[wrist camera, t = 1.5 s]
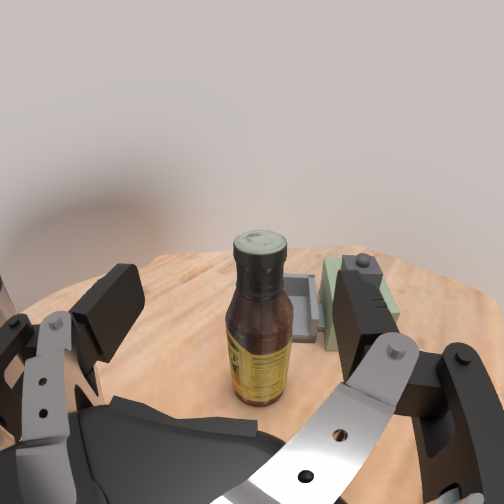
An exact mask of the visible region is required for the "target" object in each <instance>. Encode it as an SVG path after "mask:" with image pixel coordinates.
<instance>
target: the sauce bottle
mask: <svg viewBox="0 0 504 504" xmlns="http://www.w3.org/2000/svg"><path fill="white" fill-rule="evenodd" d="M233 246H234V251H233V256H234V259H235V261H236V267H237V282H236V290H235V293H234V295H233V298H232V301H231V303H230V306H229V308H228V311H227V313H226V318H225V322H226V331H227V340H228V350H229V358H230V366H231V374H232V382H233V386H234V389H235V390H236V392H237V395H238V396H239V398H241V399H242V400H243V401H245V402H247V403H250V404H252V405H266V404H270V403H271V402H274V401H276V400H277V399H278V398H279V397H280V395H281V394H282V392H283V389H284V387H285V384H286V378H287V372H288V365H289V358H290V350H291V343H292V335H293V333H292V330H293V328H292V325H293V318H294V313H293V305H292V303H291V300H290V299H289V297H288V295H287V294H286V292H285V291H284V290H283V286H284V281H283V266H284V262H285V261H286V257H287V242H286V239H285V237H284V236H282V235H281V234H278V233H276V232H274V231H269V230H253V231H248V232H245V233H243V234H241V235H239V236H237V237H236V238H235V240H234V243H233Z"/></svg>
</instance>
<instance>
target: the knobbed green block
mask: <svg viewBox="0 0 504 504" xmlns="http://www.w3.org/2000/svg"><path fill="white" fill-rule="evenodd" d="M338 270H358V271H359V273H360V275H361V277H362V279H363V281H364V283H372V284H373V285H374V286H375V287H376V288H378V289H379V290H380V292H381V294H382V296H383V298H384V301H385V302H386V304H387V306H388V308H389V310H390V312H391V315H392V317H393V319H394V321H395V323H396V322H397V320H398V317H399V314H400V312H399V309H398V307H397V305H396V303H395V300H394V298H393V296H392V294H391V292H390V290H389V287H388V285H387V283H386V281H385V279H384V277H383V273H382V271H381V269H380V267H379V265H378V263H377V261H376V259H375V257H374V256H369V255H367V254H364V253H360V254H358V255H357V256H353V255H343V256H342V258H324V263H323V270H322V278H321V285H320V292H319V293H320V301H321V303H320V302H317V293H316V285H315V276H314V275H302V274H283V281H284V286H283V290H284V291H285V292H286V294H287V295H288V297H289V299H290V300H291V303H292V305H293V313H294V318H293V325H292V328H293V330H292V333H293V335H292V342H303V343H315V339H316V334H317V331H324V337H325V347H326V351H339V350H338V345H337V340H336V335H335V330H334V325H333V319H332V304H333V298H334V291H335V284H336V277H337V272H338Z"/></svg>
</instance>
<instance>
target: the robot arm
mask: <svg viewBox="0 0 504 504" xmlns="http://www.w3.org/2000/svg"><path fill="white" fill-rule="evenodd" d="M144 304H145V296H144V292H143V289H142V285H141V281H140V277H139V273H138V269H137V267H136V265H134V264H117V265H116V266H115V267H114V268H113V269H112V270H111V271H110V272H109V273H108V274H107V275H106V276H104V277H102V278H101V279H99V280H98V281H97V282H96V283H95V284H94V285H93V286H92V288H90V289H89V290H88V291H87V292H86V294H84V295H83V296H82V297H81V298H80V299H79V301H78V302H77V303H76V304H75V305H74V306H73V307H72V308H71V309H70V310H69V311H68V312H67V311H57V312H54V313H52V314H50V315H48V316H47V317H46V318H44V320H43V321H42V322H41V324H38V325H32V324H31V322H30V320H29V318H28V316H27V315H26V314H18V313H17V311H16V309H15V307H14V305H13V303H12V301H11V299H10V297H9V295H8V293H7V290H6V288H5V286H4V283H3V281H2V279H1V276H0V504H348V503H347V502H346V501H345V500H343V499H342V498H341V497H340V496H339V495H340V494H341V493H342V492H343V490H344V489H345V488H346V486H347V485H348V484H349V483H350V481H351V480H352V479H353V477H354V476H355V474H356V473H357V472H358V470H359V469H360V467H361V466H362V465H363V463H364V462H365V460H366V459H367V457H368V456H369V454H370V453H371V451H372V449H373V448H374V446H375V445H376V443H377V441H378V440H379V438H380V437H381V435H382V433H383V431H384V430H385V428H386V426H387V424H388V423H389V421H390V419H391V417H392V415H393V414H395V415H402V416H410V417H411V418H412V423H413V428H414V434H415V439H416V445H417V451H418V457H419V464H420V472H421V480H422V490H423V502H424V504H504V410H503V407H502V405H501V402H500V400H499V397H498V395H497V393H496V390H495V388H494V386H493V384H492V381H491V379H490V377H489V375H488V373H487V371H486V369H485V367H484V364H483V362H482V360H481V358H480V357H479V355H478V353H477V352H476V351H475V350H474V349H473V348H472V347H470V346H469V345H467V344H464V343H459V342H456V343H451V344H449V345H448V346H447V347H446V348H445V350H444V352H443V353H442V354H435V353H428V352H423V351H419V348H418V346H417V344H416V343H415V342H414V340H412V339H411V338H410V337H408V336H406V335H404V334H401V333H400V332H399V330H398V328H397V325H396V323H395V321H394V319H393V317H392V315H391V312H390V310H389V308H388V306H387V304H386V302H385V301H384V298H383V296H382V294H381V292H380V290H379V289H378V288H376V287H375V286H374V285H373V284H372V283H364V281H363V279H362V277H361V275H360V273H359V271H358V270H338V272H337V277H336V284H335V291H334V298H333V304H332V319H333V325H334V330H335V335H336V340H337V345H338V350H339V356H340V361H341V367H342V373H343V379H344V382H341V383H340V384H339V385H338V386H337V387H336V388H335V389H334V391H333V392H332V393H331V394H330V396H329V397H328V398H327V399H326V400H325V402H324V403H323V404H322V405H321V406H320V407H319V409H318V410H317V411H316V412H315V413H314V414H313V416H312V417H311V418H310V419H309V420H308V421H307V422H306V423H305V424H304V425H303V427H302V428H301V429H300V430H299V431H298V432H297V433H296V434H295V435H294V436H293V437H292V438H291V439H290V440H289V441H288V442H287V443H286V442H284V441H283V440H281V439H279V438H277V437H275V436H273V435H270V434H268V433H265V432H262V431H258V422H257V420H246V419H234V418H224V417H208V418H193V419H175V418H172V417H170V416H168V415H166V414H164V413H162V412H160V411H157V410H155V409H153V408H151V407H149V406H148V405H146V404H144V403H140V402H136V401H132V400H128V399H124V398H121V397H117V396H113V398H112V400H111V402H110V404H109V405H105V403H104V399H103V394H102V389H101V384H100V379H99V374H98V369H97V367H96V365H95V363H96V361H97V360H98V361H102V362H106V363H109V362H110V361H111V359H112V357H113V356H114V354H115V352H116V351H117V349H118V348H119V346H120V344H121V343H122V341H123V340H124V338H125V337H126V335H127V333H128V332H129V330H130V329H131V327H132V326H133V324H134V323H135V321H136V319H137V318H138V316H139V315H140V313H141V312H142V310H143V308H144ZM21 436H22V441H20V442H19V440H20V438H21Z"/></svg>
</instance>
